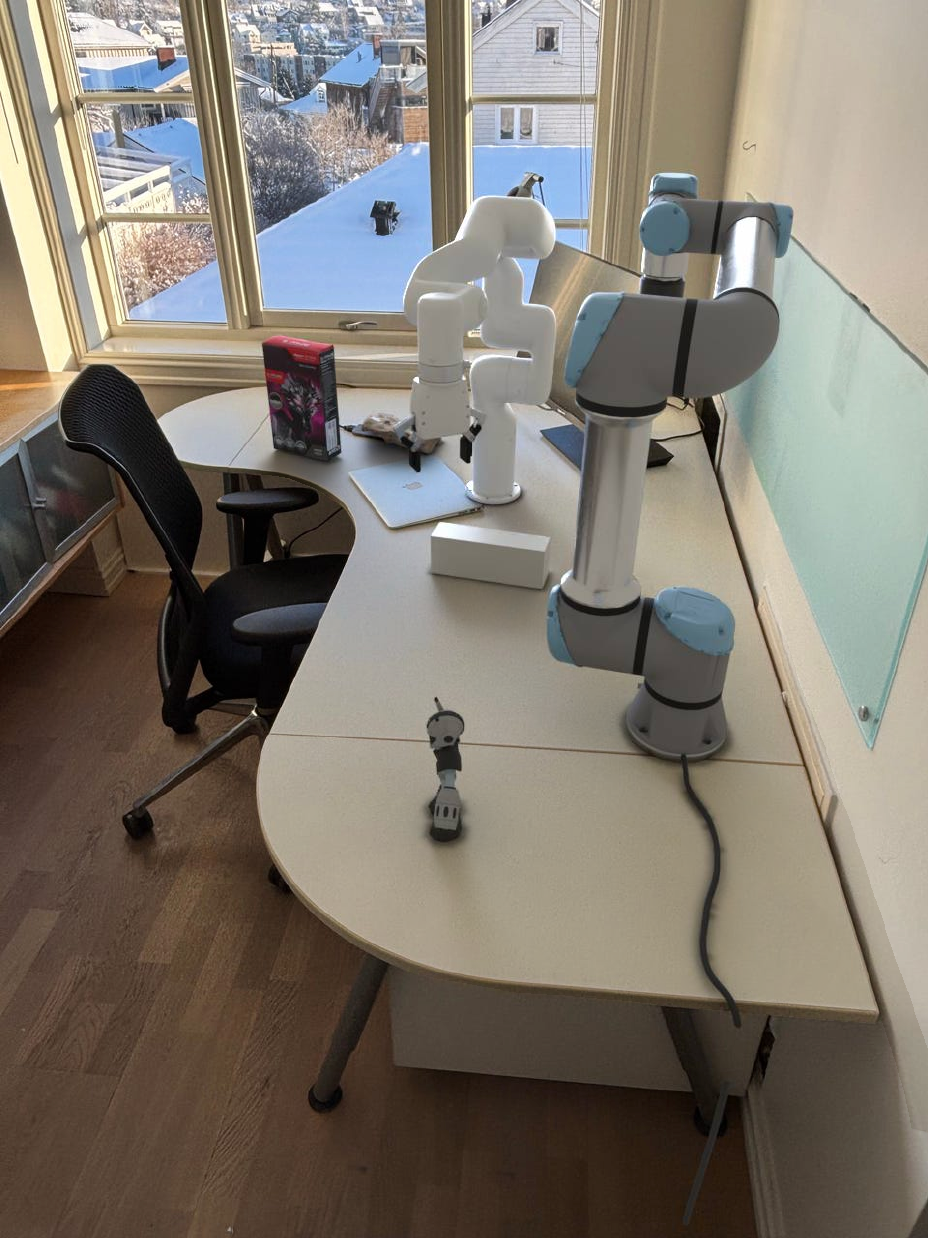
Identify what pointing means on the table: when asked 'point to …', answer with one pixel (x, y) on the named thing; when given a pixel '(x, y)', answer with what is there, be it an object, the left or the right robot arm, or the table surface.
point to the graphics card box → (302, 396)
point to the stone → (384, 429)
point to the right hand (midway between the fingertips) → (647, 398)
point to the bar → (490, 555)
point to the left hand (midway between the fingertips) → (440, 465)
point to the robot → (446, 772)
